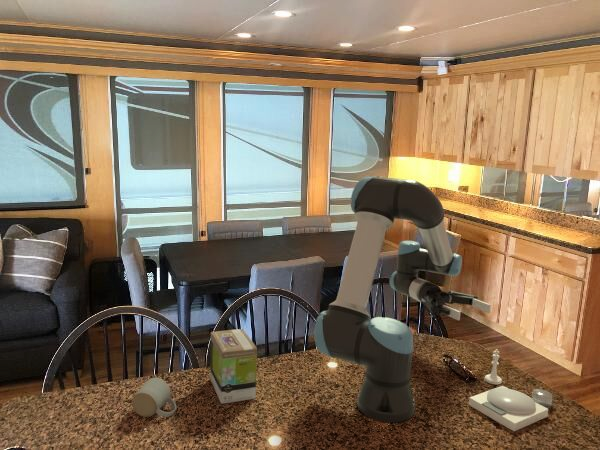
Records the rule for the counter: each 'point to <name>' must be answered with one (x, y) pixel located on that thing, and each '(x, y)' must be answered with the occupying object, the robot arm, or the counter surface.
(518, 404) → the scale
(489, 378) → the chess piece
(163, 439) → the counter surface
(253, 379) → the tea box
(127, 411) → the counter surface
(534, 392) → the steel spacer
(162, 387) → the ceramic mug
